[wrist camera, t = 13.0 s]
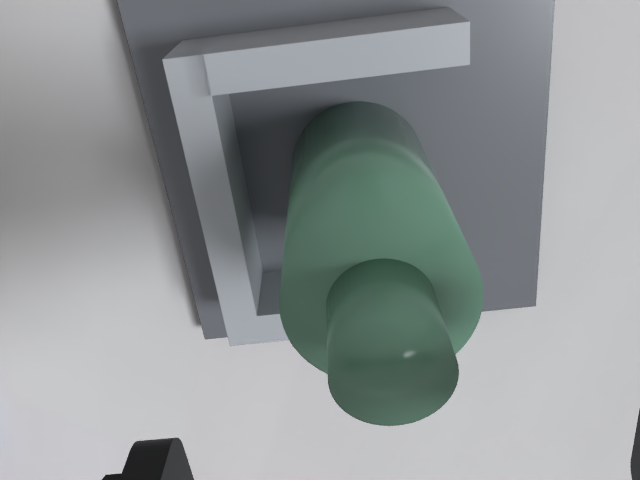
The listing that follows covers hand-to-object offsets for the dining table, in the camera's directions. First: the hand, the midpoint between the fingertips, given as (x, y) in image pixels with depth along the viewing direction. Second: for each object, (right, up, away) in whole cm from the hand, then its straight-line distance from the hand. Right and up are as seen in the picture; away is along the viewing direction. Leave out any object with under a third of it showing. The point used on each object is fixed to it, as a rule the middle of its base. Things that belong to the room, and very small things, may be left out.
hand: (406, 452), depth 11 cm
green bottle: (0, +6, +11) cm, 13 cm away
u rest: (0, +7, +12) cm, 14 cm away
